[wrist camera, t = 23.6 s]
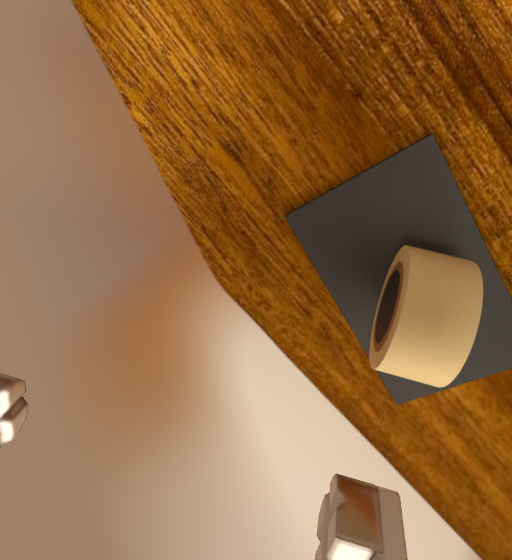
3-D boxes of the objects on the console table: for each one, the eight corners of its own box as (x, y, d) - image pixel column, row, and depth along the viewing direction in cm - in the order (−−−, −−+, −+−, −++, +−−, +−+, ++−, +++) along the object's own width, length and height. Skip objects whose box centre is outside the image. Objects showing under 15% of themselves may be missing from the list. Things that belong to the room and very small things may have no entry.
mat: (285, 214, 35) (284, 216, 34) (431, 132, 30) (432, 133, 29) (396, 400, 39) (397, 405, 39) (537, 355, 35) (540, 359, 34)
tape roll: (422, 343, 36) (441, 416, 28) (367, 328, 36) (369, 395, 28) (464, 243, 32) (500, 295, 24) (401, 228, 32) (415, 274, 24)
